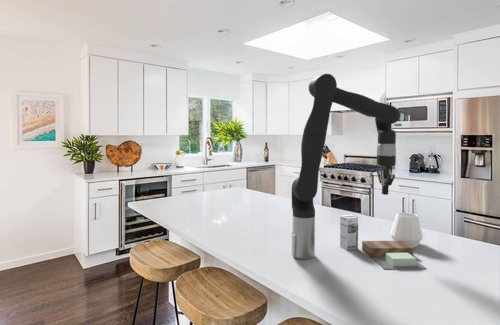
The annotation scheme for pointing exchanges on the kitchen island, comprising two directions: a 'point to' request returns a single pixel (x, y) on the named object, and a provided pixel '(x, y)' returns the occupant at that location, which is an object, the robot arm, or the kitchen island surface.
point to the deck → (385, 248)
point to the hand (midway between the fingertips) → (385, 194)
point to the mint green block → (400, 259)
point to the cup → (407, 229)
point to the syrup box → (349, 232)
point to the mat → (386, 265)
